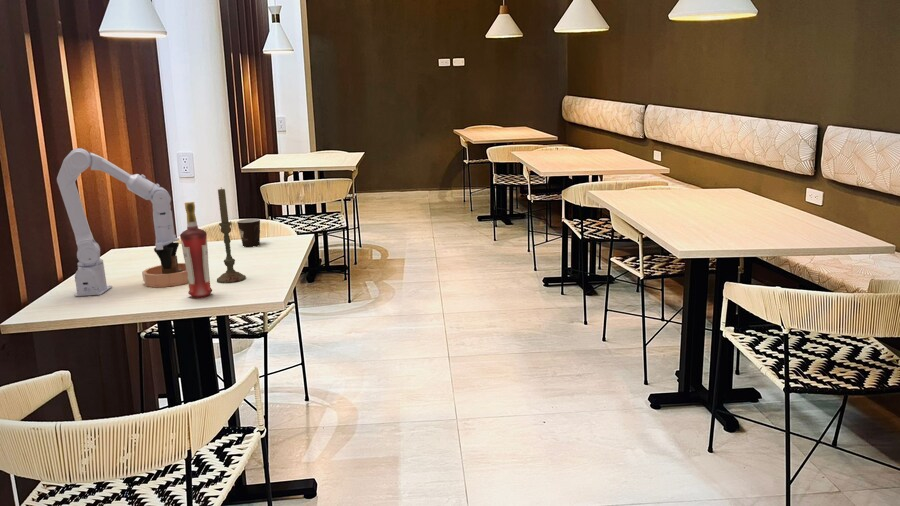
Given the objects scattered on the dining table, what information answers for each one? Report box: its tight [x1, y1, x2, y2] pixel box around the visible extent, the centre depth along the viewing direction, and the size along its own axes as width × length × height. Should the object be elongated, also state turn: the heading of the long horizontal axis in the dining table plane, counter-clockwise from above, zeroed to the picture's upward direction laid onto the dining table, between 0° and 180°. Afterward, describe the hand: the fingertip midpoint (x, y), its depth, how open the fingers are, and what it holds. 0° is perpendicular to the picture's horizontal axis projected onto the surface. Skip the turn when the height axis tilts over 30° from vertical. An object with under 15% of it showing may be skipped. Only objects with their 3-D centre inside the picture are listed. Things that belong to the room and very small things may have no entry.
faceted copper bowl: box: [141, 262, 188, 288], centre depth 236 cm, size 16×16×4 cm
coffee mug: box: [237, 218, 261, 248], centre depth 285 cm, size 12×9×10 cm
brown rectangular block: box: [160, 255, 179, 274], centre depth 235 cm, size 2×4×7 cm, turn 94°
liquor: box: [179, 201, 213, 299], centre depth 213 cm, size 7×7×28 cm
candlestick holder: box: [216, 187, 247, 284], centre depth 231 cm, size 9×9×30 cm
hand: (169, 267), depth 235 cm, fingers open, 4 cm apart
